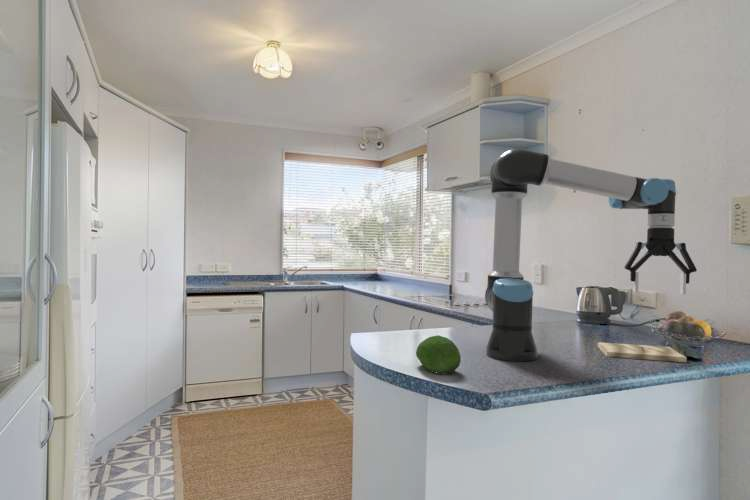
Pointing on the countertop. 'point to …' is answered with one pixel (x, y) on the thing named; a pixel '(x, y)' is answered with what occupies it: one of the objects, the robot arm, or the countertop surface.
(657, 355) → the board
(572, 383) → the countertop surface
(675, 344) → the stone
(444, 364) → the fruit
